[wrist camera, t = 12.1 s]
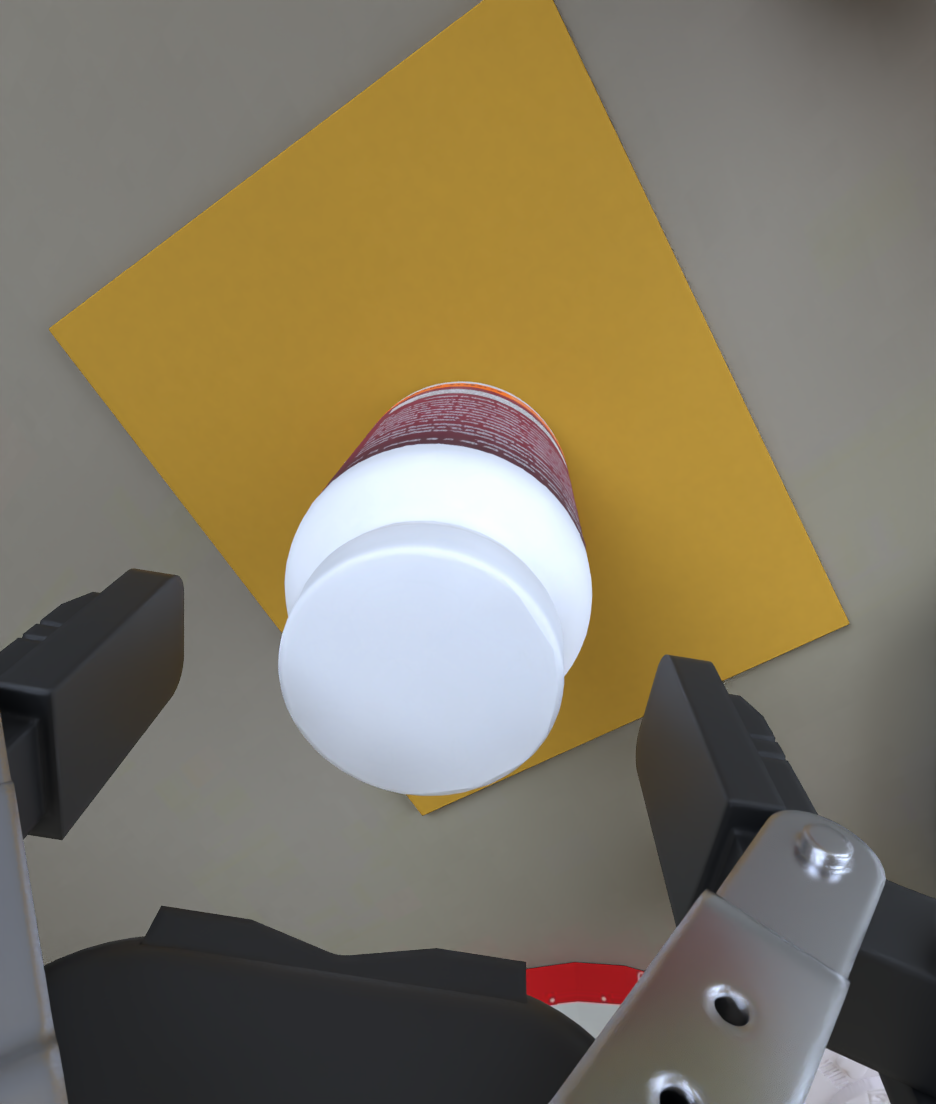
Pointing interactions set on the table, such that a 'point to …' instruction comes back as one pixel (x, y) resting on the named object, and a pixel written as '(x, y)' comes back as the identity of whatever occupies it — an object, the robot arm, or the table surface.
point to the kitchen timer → (583, 990)
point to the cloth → (466, 353)
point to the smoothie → (845, 1083)
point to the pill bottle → (437, 595)
